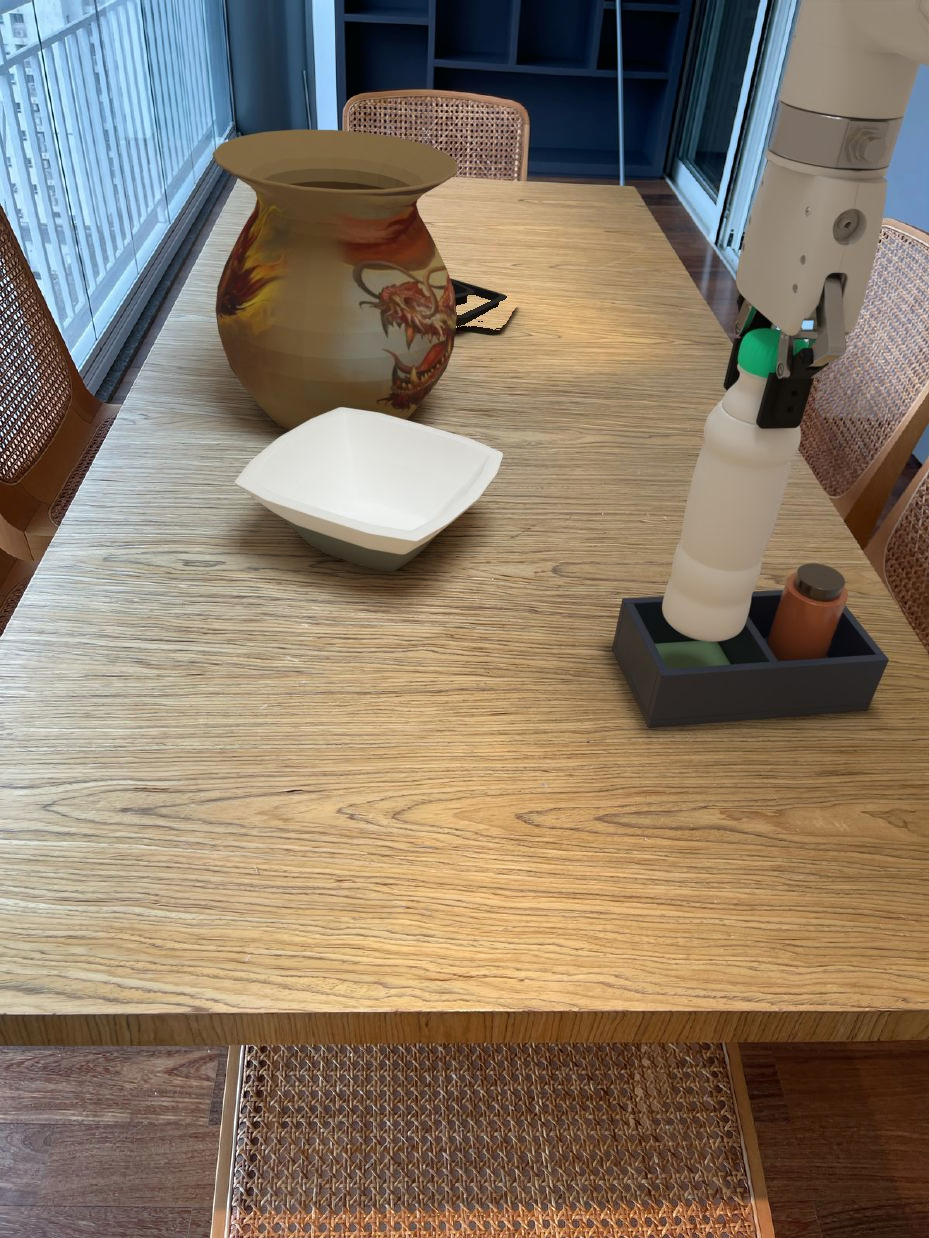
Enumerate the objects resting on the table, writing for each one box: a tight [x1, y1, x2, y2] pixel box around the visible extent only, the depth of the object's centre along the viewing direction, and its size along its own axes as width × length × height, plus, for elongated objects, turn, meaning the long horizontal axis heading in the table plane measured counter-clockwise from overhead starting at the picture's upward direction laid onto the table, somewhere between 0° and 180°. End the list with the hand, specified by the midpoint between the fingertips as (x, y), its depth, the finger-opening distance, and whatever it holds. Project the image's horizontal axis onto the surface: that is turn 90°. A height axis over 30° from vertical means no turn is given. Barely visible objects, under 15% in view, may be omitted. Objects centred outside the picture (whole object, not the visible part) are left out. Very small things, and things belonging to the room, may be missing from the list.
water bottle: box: [662, 328, 809, 642], centre depth 78 cm, size 7×7×25 cm
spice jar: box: [766, 562, 849, 661], centre depth 88 cm, size 5×5×10 cm
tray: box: [450, 277, 507, 336], centre depth 155 cm, size 30×23×5 cm
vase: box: [212, 129, 458, 431], centre depth 120 cm, size 29×29×30 cm
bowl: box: [234, 407, 504, 573], centre depth 102 cm, size 22×23×8 cm
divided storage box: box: [611, 589, 890, 729], centre depth 89 cm, size 11×20×6 cm, turn 100°
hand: (760, 405), depth 73 cm, fingers closed on water bottle, 5 cm apart
